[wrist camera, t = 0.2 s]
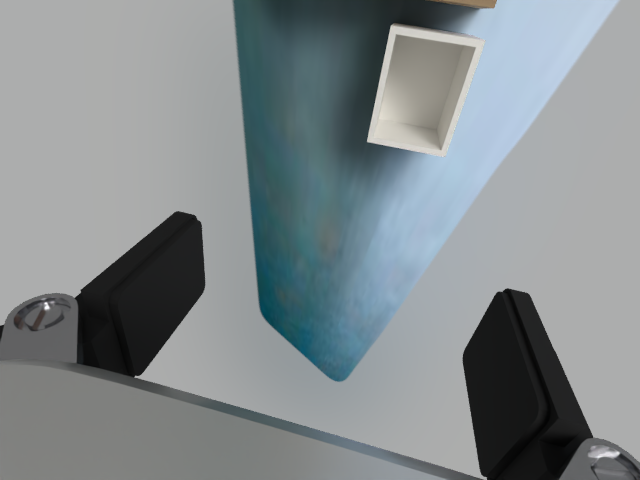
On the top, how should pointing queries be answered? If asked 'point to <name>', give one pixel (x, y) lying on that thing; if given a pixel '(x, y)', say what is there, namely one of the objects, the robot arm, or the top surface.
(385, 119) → the cream crate
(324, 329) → the top surface
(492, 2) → the pine crate
